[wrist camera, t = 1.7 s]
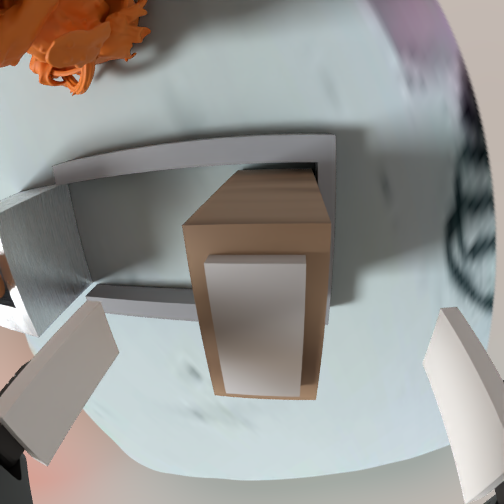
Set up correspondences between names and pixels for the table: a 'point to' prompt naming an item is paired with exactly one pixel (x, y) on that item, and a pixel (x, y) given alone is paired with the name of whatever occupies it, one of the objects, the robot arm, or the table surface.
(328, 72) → the table surface
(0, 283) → the orange rounded peg
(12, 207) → the grey block with hole
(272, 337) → the carriage
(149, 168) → the guide channel
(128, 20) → the orange figurine
